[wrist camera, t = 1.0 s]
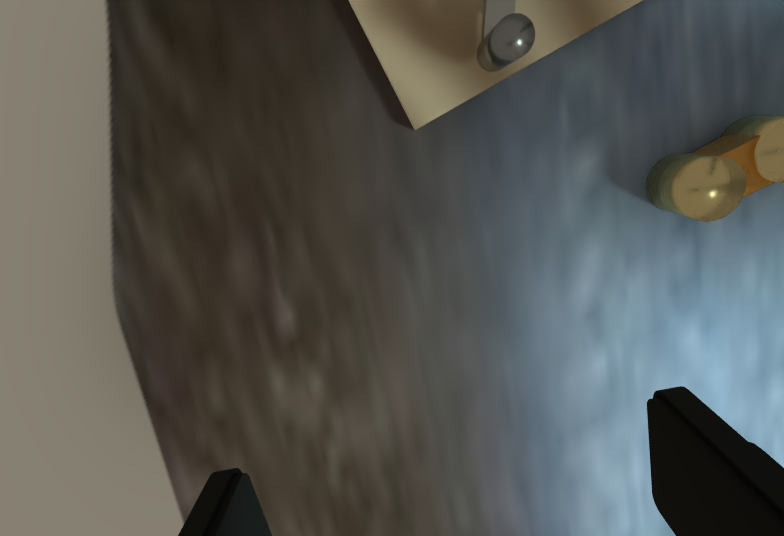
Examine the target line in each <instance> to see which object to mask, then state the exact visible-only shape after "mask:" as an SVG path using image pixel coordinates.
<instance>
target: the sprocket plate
mask: <svg viewBox="0 0 784 536" xmlns="http://www.w3.org/2000/svg"><path fill="white" fill-rule="evenodd" d="M348 1H349V3H350V5H351V7H352V9H353V11H354V13H355V15H356V17H357V19H358V21H359V23H360V25H361V27H362V28H363V30H364V32H365V34H366V36H367V38H368V40H369V42H370V44H371V46H372V48H373V50H374V52H375V54H376V56H377V58H378V60H379V62H380V64H381V66H382V68H383V70H384V72H385V74H386V75H387V77H388V79H389V81H390V83H391V85H392V87H393V89H394V91H395V93H396V95H397V97H398V99H399V101H400V103H401V105H402V107H403V109H404V111H405V113H406V115H407V117H408V119H409V121H410V122H411V124H412V126H413V128H414V130H416V129H418V128H420V127H422V126H423V125H425V124H427V123H429V122H430V121H432V120H434V119H436V118H437V117H439V116H441V115H443V114H444V113H446V112H448V111H450V110H451V109H453V108H455V107H457V106H458V105H460V104H462V103H464V102H465V101H467V100H469V99H471V98H472V97H474V96H476V95H478V94H479V93H481V92H483V91H485V90H486V89H488V88H490V87H492V86H493V85H495V84H497V83H499V82H500V81H502V80H504V79H506V78H507V77H509V76H511V75H513V74H515V73H516V72H518V71H520V70H522V69H523V68H525V67H527V66H529V65H530V64H532V63H534V62H536V61H537V60H539V59H541V58H543V57H544V56H546V55H548V54H550V53H551V52H553V51H555V50H557V49H558V48H560V47H562V46H564V45H565V44H567V43H569V42H571V41H572V40H574V39H576V38H578V37H579V36H581V35H583V34H585V33H586V32H588V31H590V30H592V29H593V28H595V27H597V26H599V25H600V24H602V23H604V22H606V21H608V20H609V19H611V18H613V17H615V16H616V15H618V14H620V13H622V12H623V11H625V10H627V9H629V8H630V7H632V6H634V5H636V4H637V3H639V2H641V1H643V0H516V4H515V13H520V14H523V15H525V16H527V17H528V18H529V19H530V20H531V21H532V23H533V25H534V28H535V40H534V44H533V46H532V48H531V49H530V51H529V52H528V53H527V54H525V55H524V56H522V57H521V58H519V59H518V60H516V61H514V62H513V63H511V64H509V65H508V66H506V67H504V68H503V69H501V70H499V71H497V72H488V71H486V70H484V69H483V68H481V66H480V65H479V63H478V61H477V56H476V53H477V48H478V46H479V44H480V42H481V31H482V17H483V14H480V13H481V0H348Z"/></svg>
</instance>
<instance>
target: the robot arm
mask: <svg viewBox="0 0 784 536" xmlns="http://www.w3.org/2000/svg"><path fill="white" fill-rule="evenodd" d="M647 413H648V430H649V447H650V464H651V481H652V494H653V499H654V502H655V504H656V506H657V508H658V510H659V512H660V513H661V515H662V516H663V518H664V519H665V521H666V522H667V523H668V525H669V526H670V528H671V529H672V531H673V532H674V533H675V535H676V536H784V468H783V467H782V466H781V465H780V464H778V463H777V462H776V461H775V460H774V459H773V458H771V457H770V456H769V455H768V454H767V453H766V452H764V451H763V450H762V449H761V448H759V447H758V446H757V445H755V444H754V443H751V442H748V441H746V440H745V439H744V438H743V437H742V436H741V435H740V434H738V433H737V432H736V431H735V430H734V429H733V428H732V427H730V426H729V425H728V424H727V423H726V422H725V421H724V420H722V419H721V418H720V417H719V416H718V415H717V414H716V413H714V412H713V411H712V410H711V409H710V408H709V407H708V406H706V405H705V404H704V403H703V402H702V401H701V400H700V399H698V398H697V397H696V396H695V395H694V394H693V393H692V392H690V391H689V390H688V389H687V388H685V387H682V386H680V387H675V388H670V389H664V390H659V391H656V392H655V393H654V395H653V399H649V400H648V401H647ZM178 536H272V535H271V532H270V529H269V527H268V524H267V522H266V519H265V516H264V514H263V511H262V508H261V506H260V503H259V501H258V498H257V495H256V493H255V490H254V488H253V485H252V482H251V480H250V477H249V475H248V474H247V473H242V472H241V470H240V469H238V468H234V469H228V470H223V471H217V472H214V473H212V474H211V475H210V477H209V479H208V481H207V482H206V484H205V486H204V488H203V490H202V492H201V494H200V496H199V497H198V499H197V501H196V503H195V505H194V507H193V509H192V511H191V513H190V514H189V516H188V518H187V520H186V522H185V524H184V526H183V528H182V529H181V531H180V533H179V535H178Z"/></svg>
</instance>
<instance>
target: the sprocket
mask: <svg viewBox="0 0 784 536" xmlns="http://www.w3.org/2000/svg"><path fill="white" fill-rule="evenodd" d="M515 4H516V0H481V13H480V14H483V17H482V31H481V42H480V44H479V46H478V48H477V53H476V56H477V61H478V63H479V65H480V66H481V68H483V69H484V70H486V71H488V72H497V71H499V70H501V69H503V68H504V67H506V66H508V65H509V64H511V63H513V62H514V61H516V60H518V59H519V58H521V57H522V56H524V55H525V54H527V53H528V52H529V51H530V49H531V48H532V46H533V44H534V40H535V28H534V25H533V23H532V21H531V20H530V19H529V18H528V17H527V16H525V15H523V14H520V13H515Z"/></svg>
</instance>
